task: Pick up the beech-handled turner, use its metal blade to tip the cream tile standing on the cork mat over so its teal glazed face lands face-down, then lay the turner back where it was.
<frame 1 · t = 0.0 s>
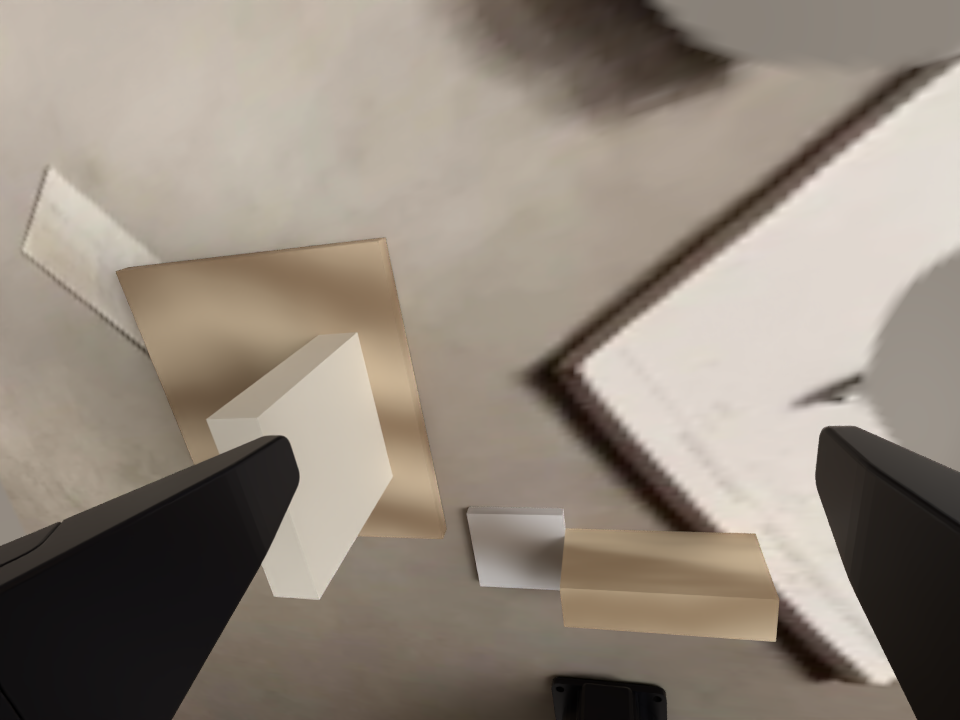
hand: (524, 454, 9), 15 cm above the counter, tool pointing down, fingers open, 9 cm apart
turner: (656, 549, 27), on the counter
cork mat: (294, 403, 28), on the counter
tile: (357, 409, 27), point 1 cm above the counter, touching cork mat
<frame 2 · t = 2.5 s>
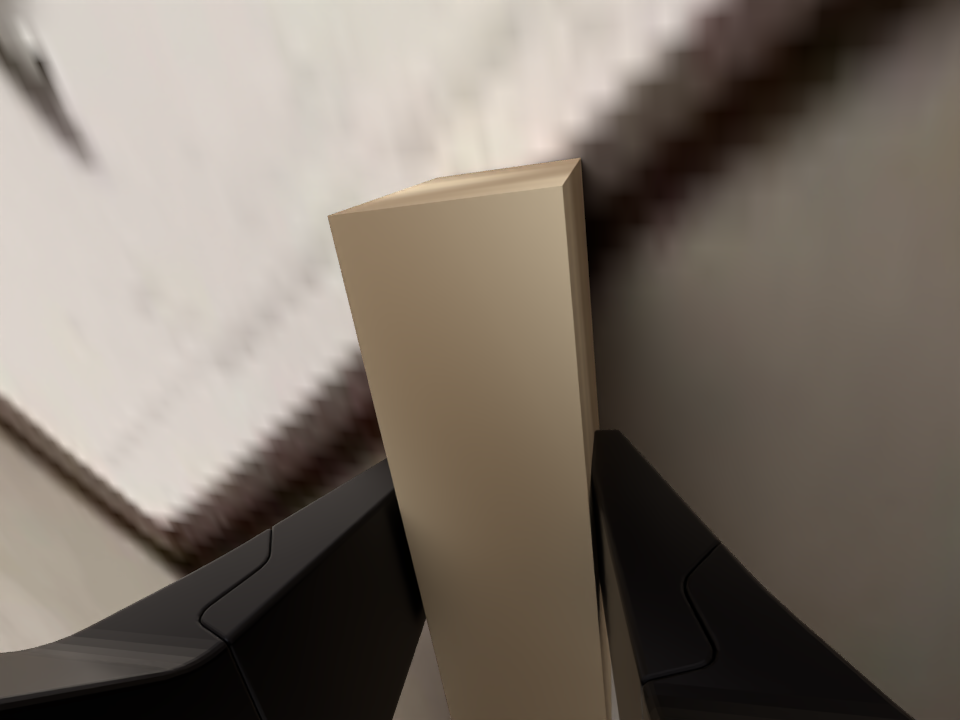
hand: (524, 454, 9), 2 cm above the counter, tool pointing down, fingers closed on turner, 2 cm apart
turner: (535, 410, 11), on the counter, touching gripper
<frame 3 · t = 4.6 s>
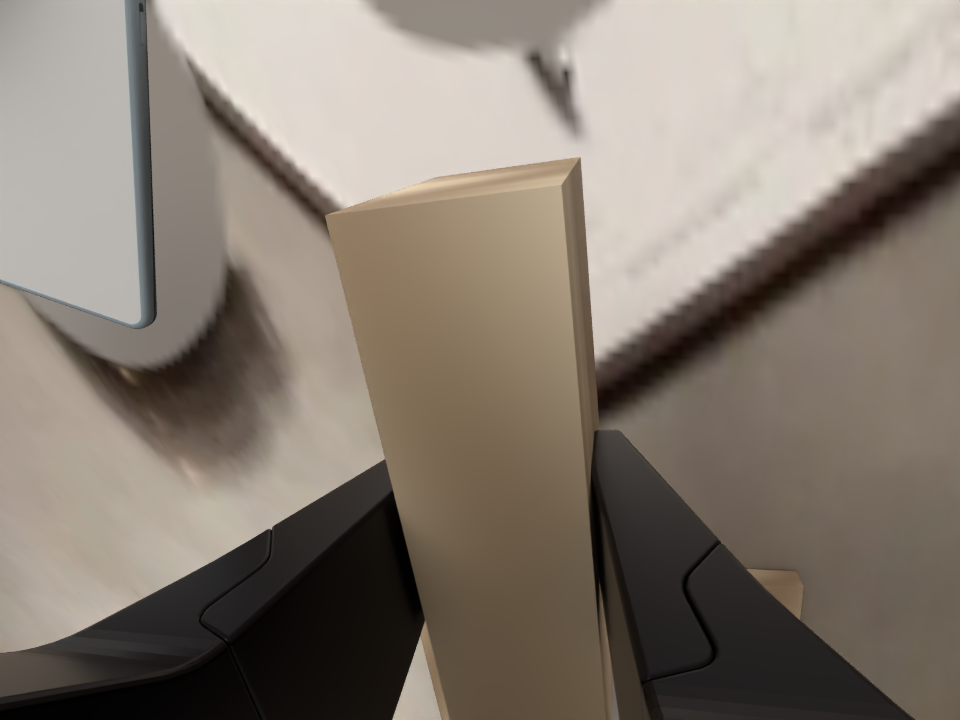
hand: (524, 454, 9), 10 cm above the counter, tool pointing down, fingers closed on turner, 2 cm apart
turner: (534, 410, 10), point 9 cm above the counter, touching gripper
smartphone: (62, 117, 20), on the counter
cork mat: (596, 677, 25), on the counter
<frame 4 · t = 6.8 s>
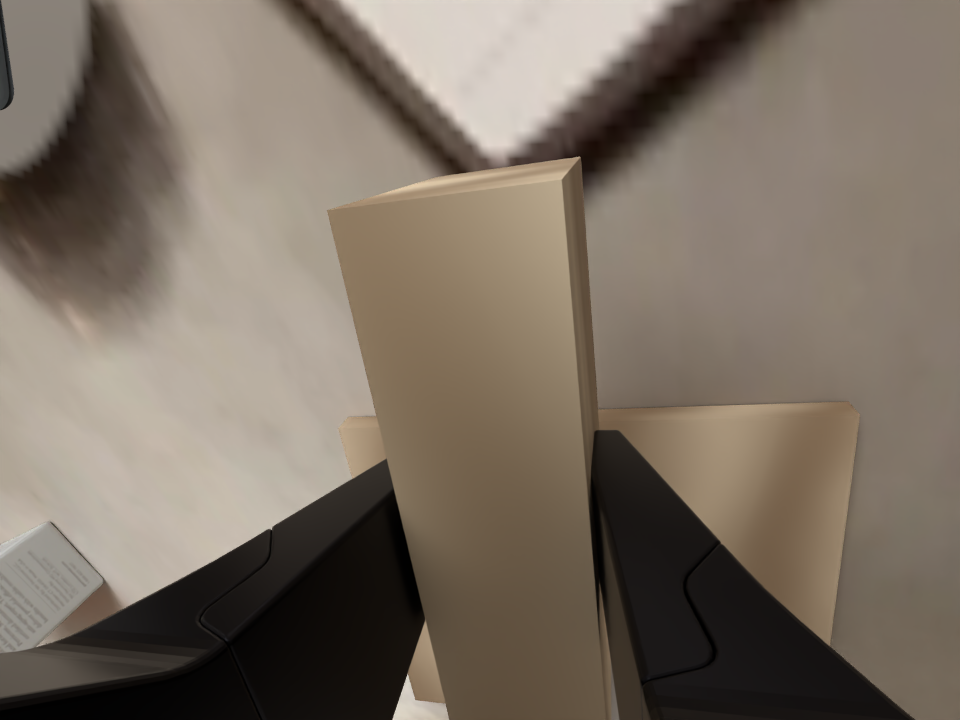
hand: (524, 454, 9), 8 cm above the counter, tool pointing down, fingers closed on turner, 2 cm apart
skincare box: (51, 562, 28), on the counter
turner: (534, 410, 10), point 6 cm above the counter, touching gripper
cork mat: (585, 574, 20), on the counter
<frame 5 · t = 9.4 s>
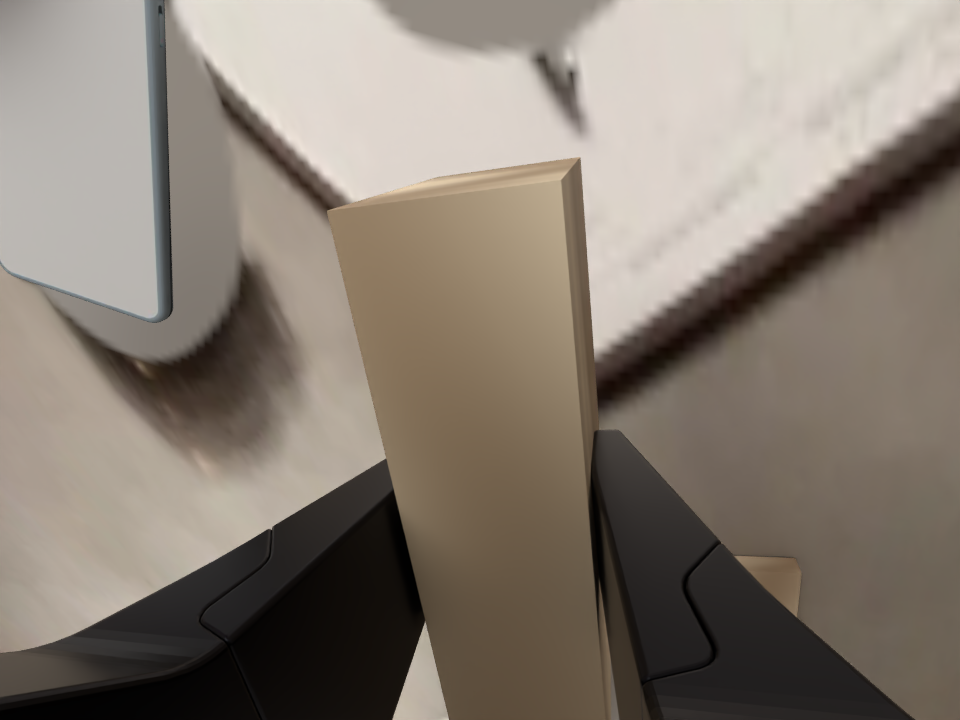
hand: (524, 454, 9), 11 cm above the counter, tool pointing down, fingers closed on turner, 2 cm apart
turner: (534, 410, 10), point 9 cm above the counter, touching gripper
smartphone: (82, 116, 21), on the counter
cork mat: (599, 663, 26), on the counter
when the fingers open (2 cm above the counter, at t = 11.8 s): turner drops 1 cm, on the counter.
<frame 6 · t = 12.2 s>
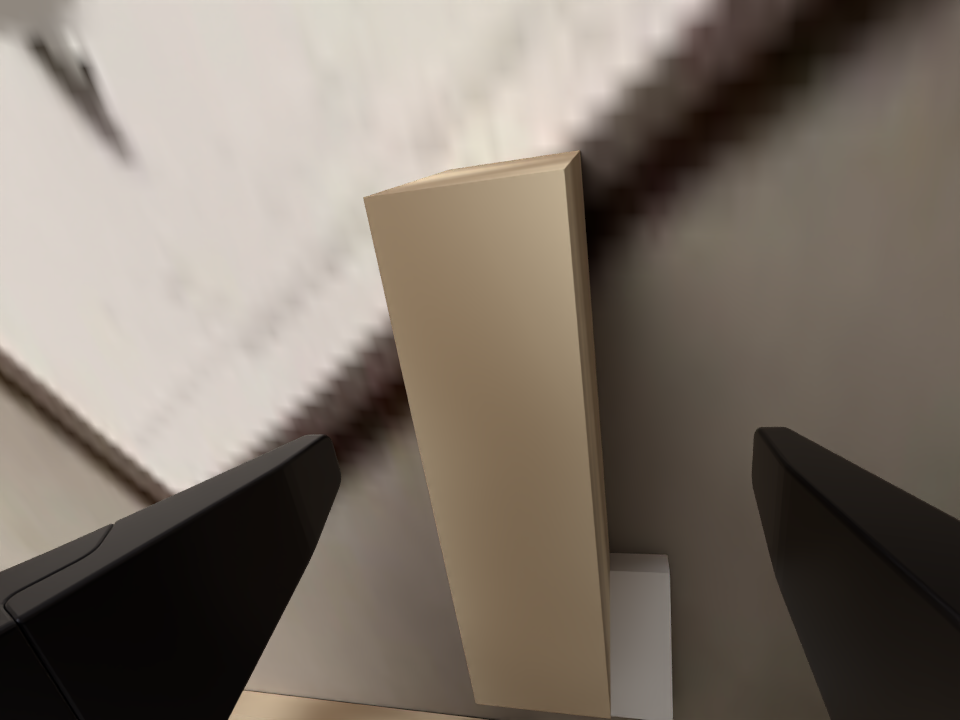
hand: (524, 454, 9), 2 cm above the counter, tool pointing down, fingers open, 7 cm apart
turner: (539, 383, 11), on the counter
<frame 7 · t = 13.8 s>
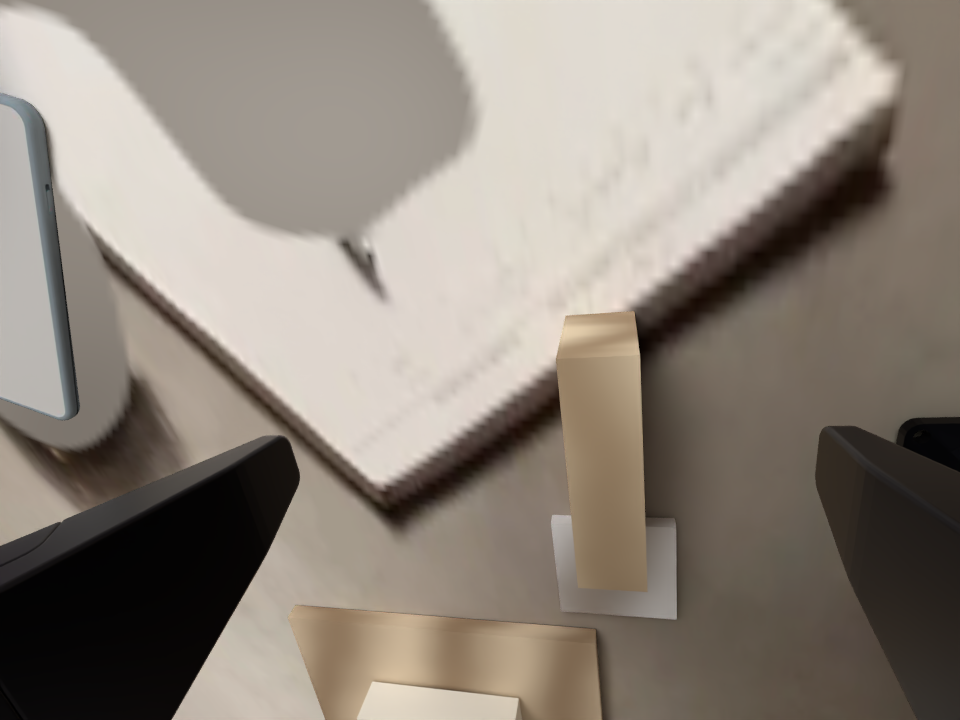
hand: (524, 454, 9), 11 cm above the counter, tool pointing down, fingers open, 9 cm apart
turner: (606, 422, 21), on the counter
cork mat: (456, 709, 30), on the counter
tile: (437, 708, 27), point 2 cm above the counter, tilted 90°, touching cork mat
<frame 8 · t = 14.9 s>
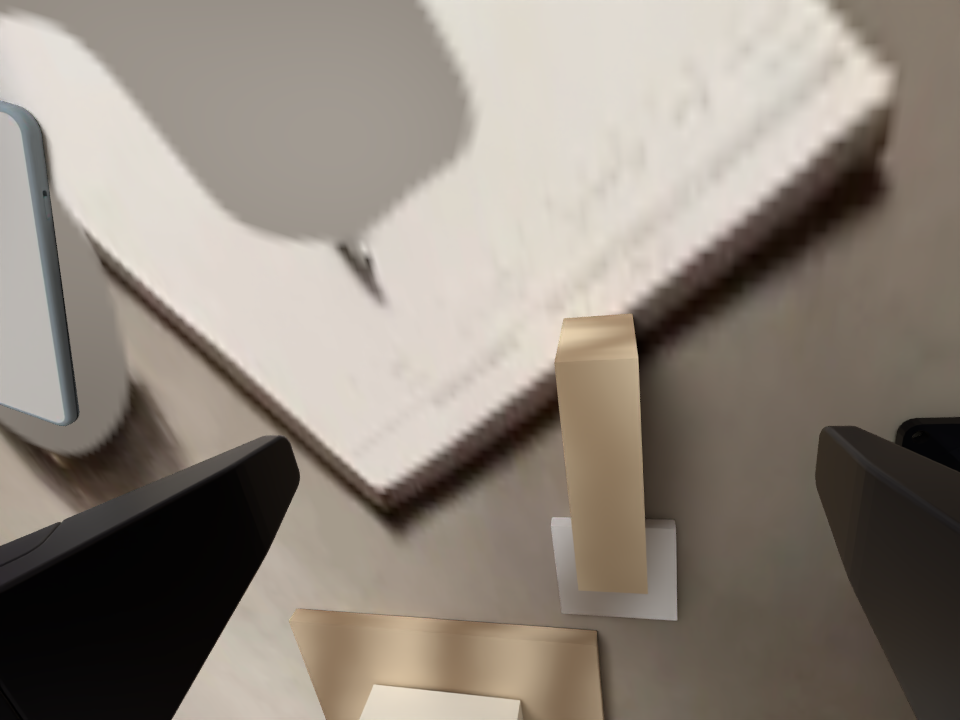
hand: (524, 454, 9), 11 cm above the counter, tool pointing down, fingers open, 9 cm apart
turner: (605, 424, 21), on the counter
cork mat: (457, 711, 30), on the counter
tile: (439, 710, 27), point 2 cm above the counter, tilted 90°, touching cork mat
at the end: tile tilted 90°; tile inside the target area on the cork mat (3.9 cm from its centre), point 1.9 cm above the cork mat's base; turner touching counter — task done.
